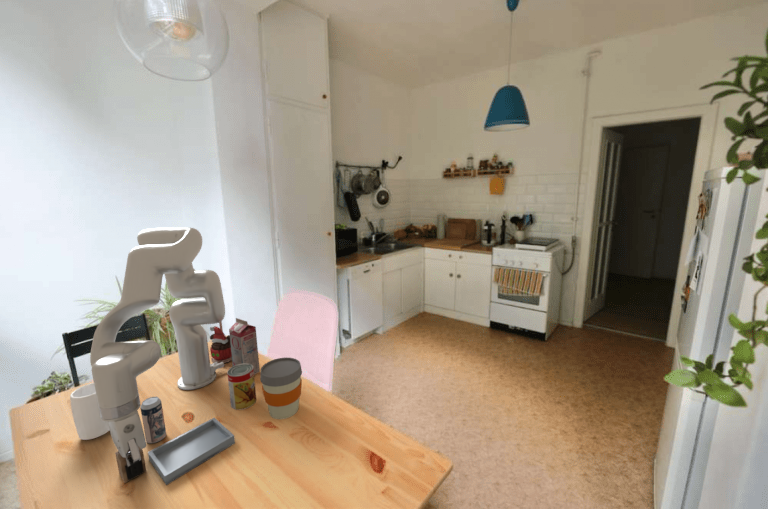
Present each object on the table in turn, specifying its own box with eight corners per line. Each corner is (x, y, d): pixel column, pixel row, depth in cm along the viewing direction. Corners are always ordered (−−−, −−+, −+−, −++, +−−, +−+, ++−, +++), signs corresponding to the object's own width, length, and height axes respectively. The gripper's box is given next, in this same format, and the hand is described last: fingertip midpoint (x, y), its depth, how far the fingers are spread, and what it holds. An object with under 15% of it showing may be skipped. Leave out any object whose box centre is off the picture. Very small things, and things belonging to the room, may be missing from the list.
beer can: (156, 446, 92) (150, 407, 89) (142, 443, 92) (135, 405, 90) (170, 433, 96) (164, 396, 94) (156, 431, 97) (150, 394, 95)
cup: (123, 427, 99) (115, 384, 96) (90, 447, 91) (81, 401, 89) (103, 421, 102) (95, 379, 99) (71, 440, 94) (61, 395, 91)
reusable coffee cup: (265, 428, 98) (261, 382, 95) (261, 403, 109) (258, 362, 106) (307, 416, 103) (305, 372, 100) (300, 394, 114) (297, 353, 111)
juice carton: (244, 380, 123) (239, 324, 119) (233, 374, 127) (228, 320, 122) (259, 371, 129) (254, 318, 124) (248, 367, 132) (243, 315, 128)
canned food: (260, 401, 110) (257, 368, 108) (237, 413, 105) (233, 378, 102) (249, 392, 116) (246, 360, 113) (226, 402, 110) (223, 369, 108)
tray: (215, 424, 100) (214, 417, 99) (235, 443, 92) (234, 435, 92) (149, 460, 87) (147, 452, 86) (166, 485, 79) (164, 476, 79)
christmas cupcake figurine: (242, 355, 142) (238, 315, 139) (228, 366, 133) (223, 324, 130) (221, 352, 144) (216, 313, 141) (205, 363, 135) (200, 321, 132)
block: (140, 462, 86) (137, 441, 85) (146, 471, 83) (142, 450, 82) (119, 473, 82) (115, 452, 81) (124, 483, 80) (120, 462, 79)
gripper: (150, 411, 77) (162, 478, 80) (128, 385, 87) (139, 445, 91) (110, 430, 71) (124, 500, 75) (91, 399, 81) (104, 463, 85)
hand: (132, 469), depth 83 cm, fingers closed on block, 4 cm apart
